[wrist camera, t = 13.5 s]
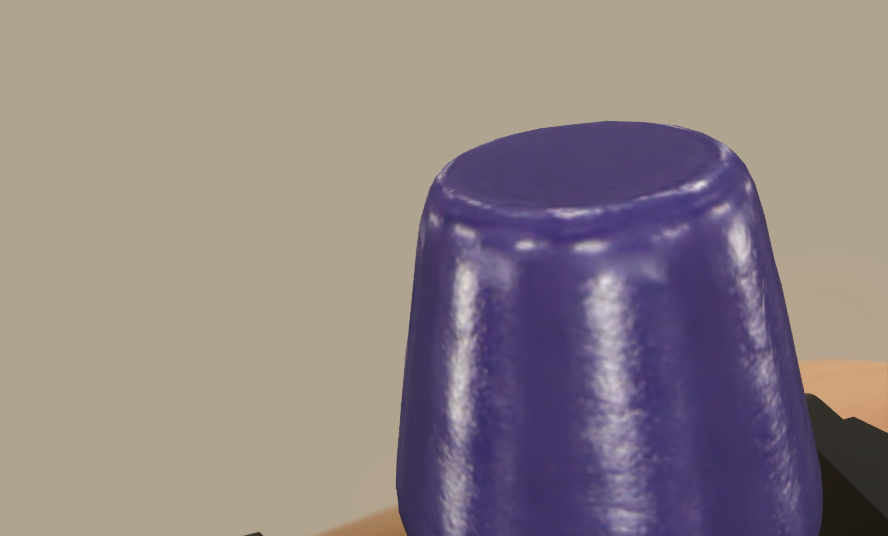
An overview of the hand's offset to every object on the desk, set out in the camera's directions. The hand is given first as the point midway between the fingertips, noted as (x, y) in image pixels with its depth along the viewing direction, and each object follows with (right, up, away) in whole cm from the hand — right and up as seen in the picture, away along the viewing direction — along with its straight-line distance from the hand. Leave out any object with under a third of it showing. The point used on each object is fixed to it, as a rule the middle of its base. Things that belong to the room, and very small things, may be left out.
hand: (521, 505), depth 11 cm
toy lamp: (+3, -10, +3) cm, 11 cm away
